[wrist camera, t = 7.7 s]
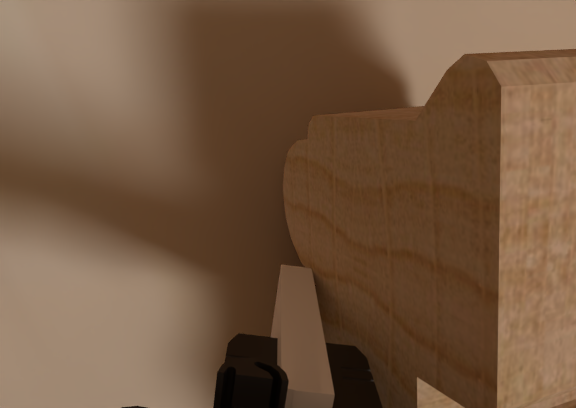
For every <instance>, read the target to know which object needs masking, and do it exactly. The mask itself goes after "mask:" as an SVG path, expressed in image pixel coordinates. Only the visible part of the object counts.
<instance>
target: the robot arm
mask: <svg viewBox="0 0 576 408" xmlns="http://www.w3.org/2000/svg"><path fill="white" fill-rule="evenodd" d="M122 408H146V407H140V406H132V407H122ZM213 408H383V407H382V404H381V401H380V397H379V394H378V391H377V388H376V385H375V383H374V379H373V376H372V373H371V369H370V366H369V363H368V360H367V357H366V356H365V355H364V354H363V353H362V352H361V351H360V350H359V349H358V348H357V347H356V346H351V345H342V344H333V343H325V339H324V333H323V328H322V322H321V317H320V311H319V306H318V300H317V295H316V289H315V284H314V278H313V273H312V269H311V268H305V267H298V266H290V265H282V264H281V268H280V275H279V282H278V289H277V296H276V303H275V310H274V317H273V324H272V331H271V337H264V336H255V335H247V334H238V335H236V336H235V337H234V338H233V339H232V340H231V341H230V342H229V343H228V347H227V353H226V358H225V363H224V364H223V365H222V366H221V367H220V369H219V371H218V373H217V381H216V390H215V398H214V407H213Z"/></svg>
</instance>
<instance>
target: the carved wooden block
mask: <svg viewBox="0 0 576 408" xmlns="http://www.w3.org/2000/svg"><path fill="white" fill-rule="evenodd" d="M283 197H284V207H285V216H286V220H287V224H288V228H289V232H290V236H291V239H292V242H293V244H294V247H295V249H296V252H297V254H298V257H299V259H300V261H301V263H302V264H303V266H304V267H305V268H311V269H312V273H313V278H314V282H315V283H316V285H317V286H315V289H316V295H317V300H318V306H319V311H320V317H321V322H322V328H323V333H324V339H325V343H333V344H342V345H351V346H356V347H357V348H358V349H359V350H360V351H361V352H362V353H363V354H364V355H365V356H366V357H367V360H368V363H369V366H370V369H371V373H372V376H373V379H374V383H375V385H376V388H377V391H378V394H379V397H380V401H381V404H382V407H383V408H576V49H566V50H544V51H522V52H500V53H478V54H464V55H463V56H462V57H461V58H460V59H459V60H458V61H457V62H455V63H454V64H453V65H452V66H451V67H450V68H449V69H448V70H447V71H446V73H445V74H444V76H443V77H442V79H441V81H440V82H439V84H438V85H437V87H436V89H435V90H434V92H433V93H432V95H431V97H430V98H429V100H428V101H427V103H426V105H425V106H420V107H408V108H396V109H384V110H373V111H361V112H349V113H337V114H325V115H313V117H312V119H311V121H310V123H309V125H308V136H307V139H301V140H297V141H296V142H295V143H294V144H293V146H292V147H291V148H290V149H289V150H288V152H287V157H286V162H285V166H284V176H283Z"/></svg>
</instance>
